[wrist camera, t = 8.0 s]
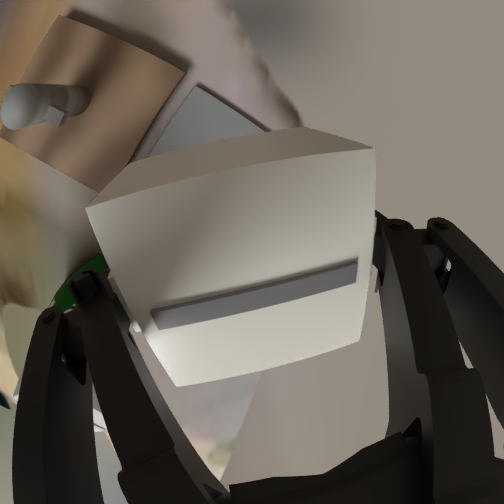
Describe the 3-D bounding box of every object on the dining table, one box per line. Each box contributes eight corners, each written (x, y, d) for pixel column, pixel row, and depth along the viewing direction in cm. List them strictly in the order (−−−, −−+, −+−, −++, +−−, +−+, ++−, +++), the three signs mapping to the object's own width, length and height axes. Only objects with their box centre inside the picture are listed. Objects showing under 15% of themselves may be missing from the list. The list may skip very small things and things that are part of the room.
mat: (135, 180, 26) (134, 181, 25) (195, 86, 22) (195, 85, 22) (224, 229, 31) (224, 231, 30) (285, 146, 27) (286, 147, 27)
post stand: (6, 134, 19) (-64, 162, 9) (64, 18, 15) (5, -11, 5) (113, 193, 26) (72, 251, 16) (185, 74, 22) (179, 51, 12)
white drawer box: (177, 301, 16) (176, 390, 11) (130, 162, 12) (82, 210, 6) (314, 269, 17) (361, 343, 11) (304, 127, 12) (379, 149, 7)
